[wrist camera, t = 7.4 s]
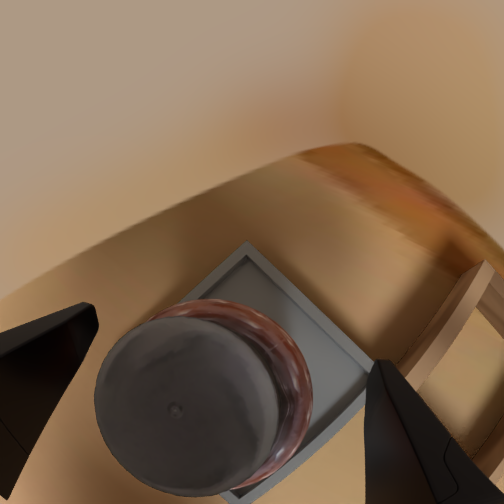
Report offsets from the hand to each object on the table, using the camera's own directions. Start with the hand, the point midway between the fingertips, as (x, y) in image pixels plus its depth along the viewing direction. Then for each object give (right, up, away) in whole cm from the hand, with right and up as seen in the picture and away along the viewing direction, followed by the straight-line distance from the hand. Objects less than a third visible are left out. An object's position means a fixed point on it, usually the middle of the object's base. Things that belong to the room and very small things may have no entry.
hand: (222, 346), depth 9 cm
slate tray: (0, -4, +8) cm, 9 cm away
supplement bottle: (0, -4, +7) cm, 8 cm away
